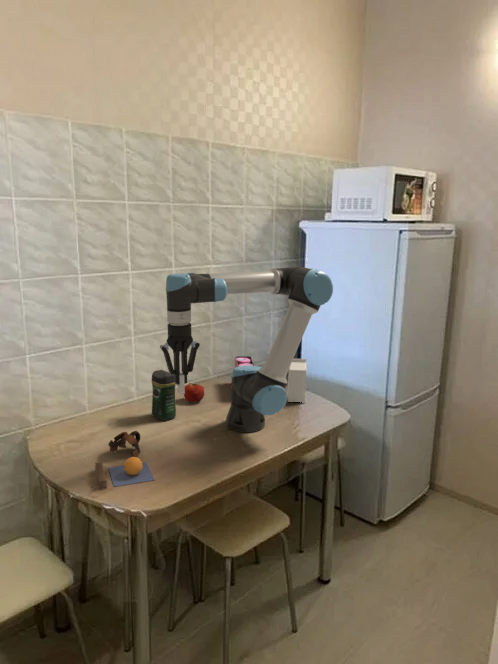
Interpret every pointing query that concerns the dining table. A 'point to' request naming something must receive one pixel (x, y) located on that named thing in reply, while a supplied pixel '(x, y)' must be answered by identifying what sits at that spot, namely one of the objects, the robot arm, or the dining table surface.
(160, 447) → the dining table surface
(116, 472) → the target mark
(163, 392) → the coffee jar
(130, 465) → the ball
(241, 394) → the robot arm
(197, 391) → the tomato
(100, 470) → the stopper strip
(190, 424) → the dining table surface
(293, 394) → the milk carton
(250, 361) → the gum box
